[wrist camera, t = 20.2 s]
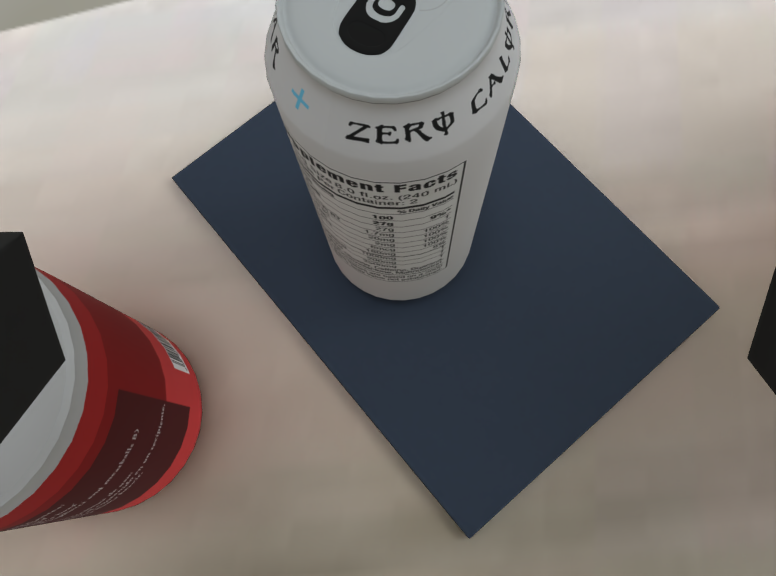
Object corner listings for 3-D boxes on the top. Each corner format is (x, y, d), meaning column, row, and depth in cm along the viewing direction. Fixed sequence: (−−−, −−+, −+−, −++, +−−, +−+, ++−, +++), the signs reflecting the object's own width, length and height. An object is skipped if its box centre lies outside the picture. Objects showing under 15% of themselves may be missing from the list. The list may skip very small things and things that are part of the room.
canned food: (42, 317, 28) (-184, 228, 17) (222, 331, 27) (105, 249, 17) (-1, 502, 26) (-285, 529, 15) (193, 520, 26) (39, 562, 15)
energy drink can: (495, 214, 28) (584, -51, 14) (426, 331, 27) (445, 176, 12) (376, 152, 29) (343, -156, 15) (305, 262, 28) (190, 44, 13)
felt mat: (716, 309, 27) (720, 307, 27) (468, 538, 25) (469, 539, 25) (406, 8, 32) (406, 2, 31) (174, 181, 29) (171, 177, 29)
